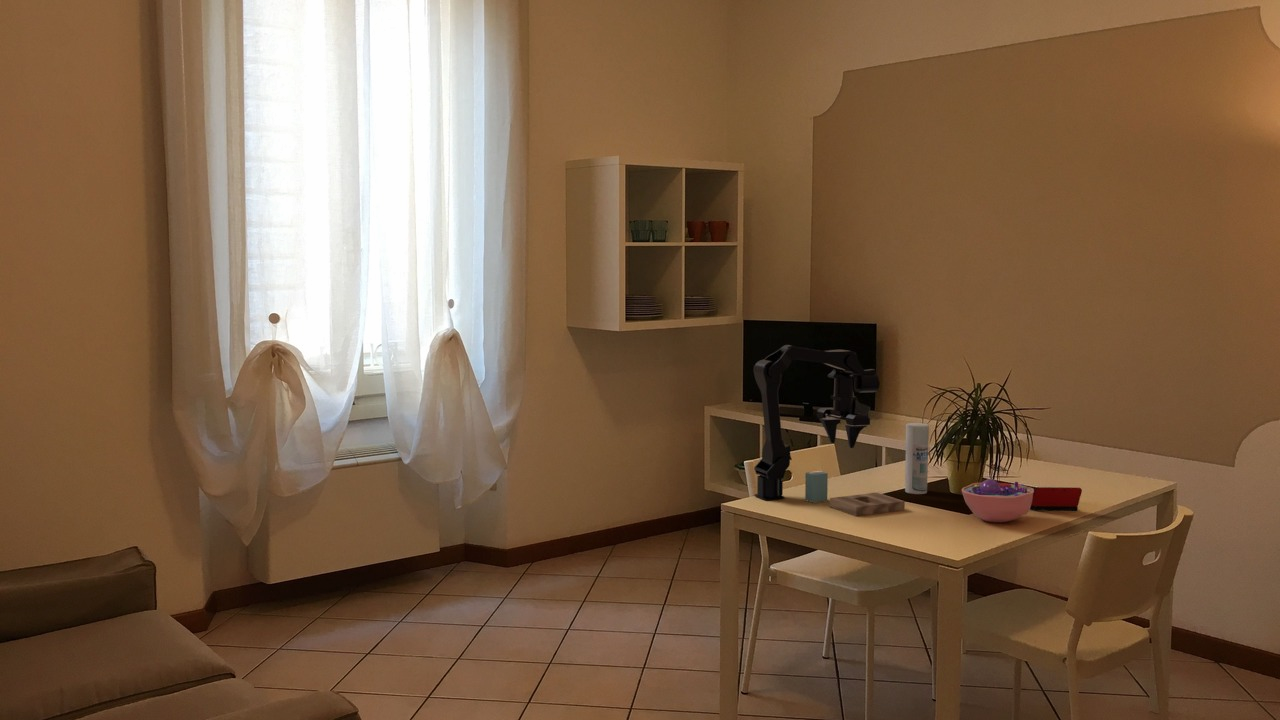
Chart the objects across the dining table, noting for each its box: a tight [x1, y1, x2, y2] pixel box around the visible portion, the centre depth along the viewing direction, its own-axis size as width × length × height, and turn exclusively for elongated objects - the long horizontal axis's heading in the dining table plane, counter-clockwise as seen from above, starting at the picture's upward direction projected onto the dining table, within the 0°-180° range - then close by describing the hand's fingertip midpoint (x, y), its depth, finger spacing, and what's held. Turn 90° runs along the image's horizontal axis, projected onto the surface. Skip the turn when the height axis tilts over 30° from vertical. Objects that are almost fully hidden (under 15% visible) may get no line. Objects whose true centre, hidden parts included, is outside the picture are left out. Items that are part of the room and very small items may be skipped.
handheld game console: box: [1029, 486, 1083, 512], centre depth 275 cm, size 12×11×7 cm
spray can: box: [904, 422, 930, 495], centre depth 297 cm, size 6×6×20 cm
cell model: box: [961, 478, 1035, 523], centre depth 264 cm, size 17×20×11 cm
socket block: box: [829, 492, 906, 517], centre depth 277 cm, size 16×12×2 cm
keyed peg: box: [804, 470, 829, 503], centre depth 287 cm, size 5×4×8 cm
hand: (842, 445), depth 298 cm, fingers open, 9 cm apart
